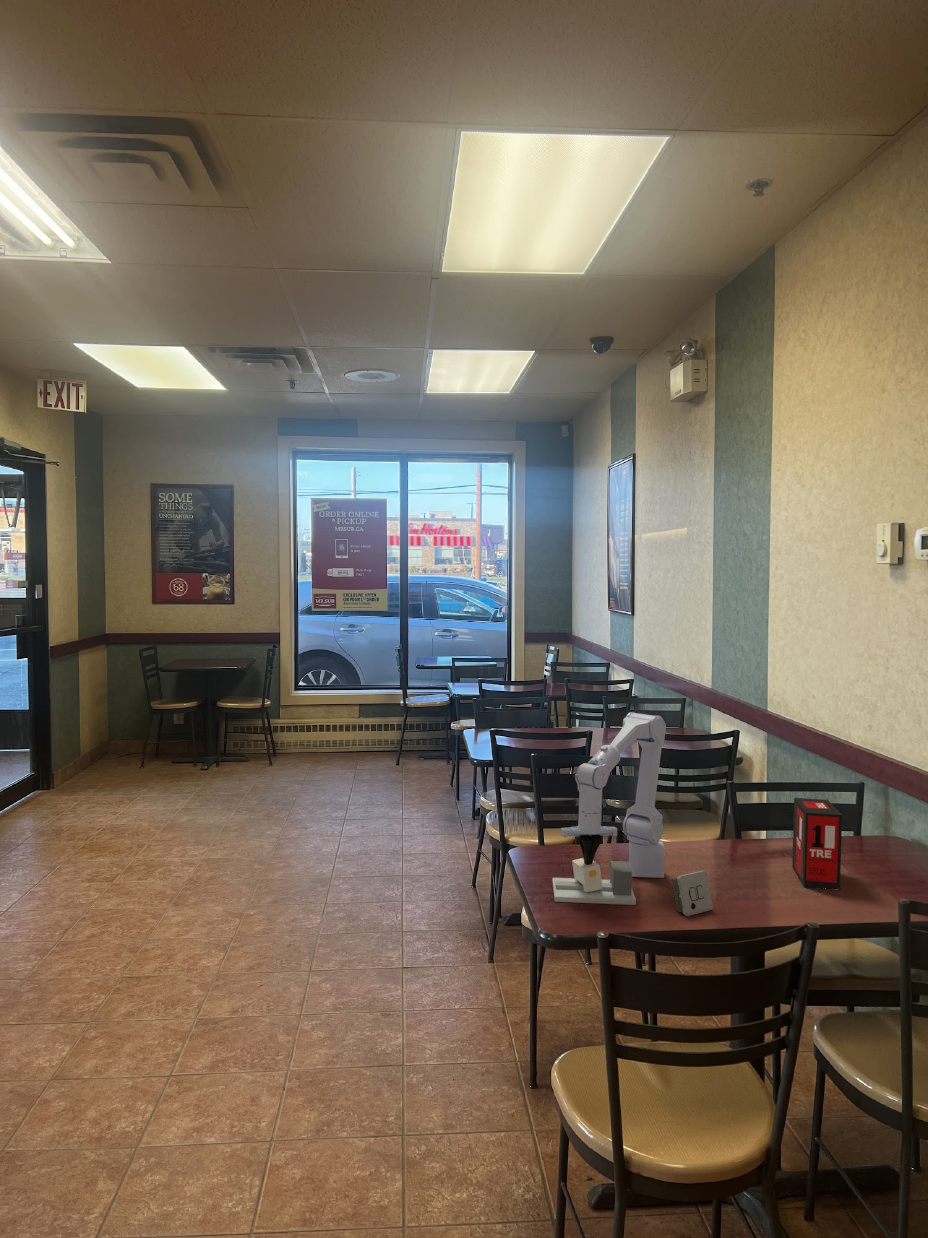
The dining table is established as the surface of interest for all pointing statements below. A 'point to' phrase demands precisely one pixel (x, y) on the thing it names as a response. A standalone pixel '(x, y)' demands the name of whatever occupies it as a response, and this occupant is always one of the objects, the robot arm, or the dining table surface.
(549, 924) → the dining table surface
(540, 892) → the dining table surface
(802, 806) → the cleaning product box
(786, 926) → the dining table surface
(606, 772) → the robot arm
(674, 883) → the electrical switch
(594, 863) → the block
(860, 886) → the dining table surface
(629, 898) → the rail plate
